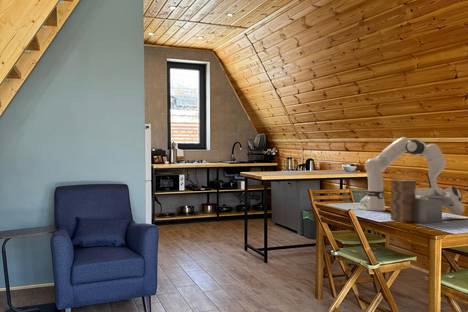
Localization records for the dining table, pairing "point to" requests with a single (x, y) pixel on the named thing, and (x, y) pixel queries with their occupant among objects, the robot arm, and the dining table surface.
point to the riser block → (427, 210)
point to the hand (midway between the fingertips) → (432, 190)
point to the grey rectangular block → (427, 191)
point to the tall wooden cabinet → (402, 199)
